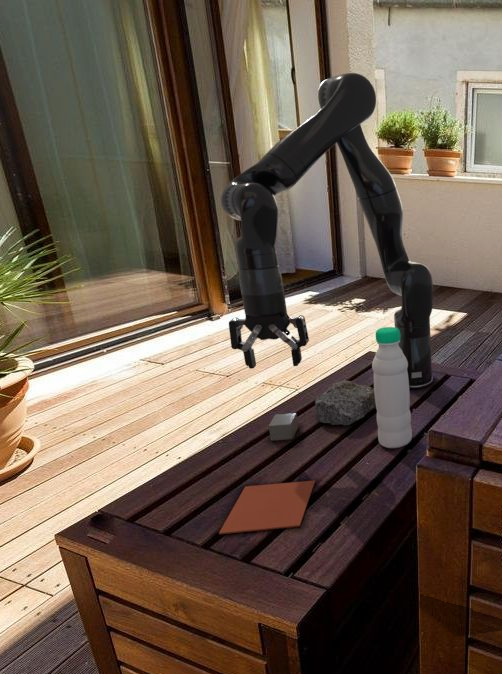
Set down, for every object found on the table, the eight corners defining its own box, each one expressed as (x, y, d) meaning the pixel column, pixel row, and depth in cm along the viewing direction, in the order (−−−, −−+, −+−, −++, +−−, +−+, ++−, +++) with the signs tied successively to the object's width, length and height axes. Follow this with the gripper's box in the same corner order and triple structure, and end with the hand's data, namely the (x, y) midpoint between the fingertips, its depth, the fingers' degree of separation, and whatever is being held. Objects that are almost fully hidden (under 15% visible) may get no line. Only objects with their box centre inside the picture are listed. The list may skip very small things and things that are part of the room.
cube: (277, 428, 105) (275, 414, 104) (298, 427, 106) (296, 413, 104) (270, 440, 100) (268, 425, 99) (292, 439, 101) (290, 424, 100)
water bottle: (401, 452, 96) (393, 336, 88) (371, 446, 98) (361, 332, 90) (418, 435, 103) (412, 326, 94) (389, 430, 105) (381, 322, 97)
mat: (245, 487, 85) (245, 486, 85) (315, 481, 87) (315, 480, 86) (219, 534, 73) (218, 533, 73) (299, 526, 75) (299, 525, 75)
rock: (352, 432, 104) (385, 405, 118) (351, 406, 102) (385, 381, 116) (303, 423, 107) (341, 397, 121) (300, 397, 105) (339, 374, 119)
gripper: (305, 284, 97) (314, 358, 102) (230, 286, 95) (244, 361, 100) (296, 292, 90) (306, 371, 95) (215, 294, 88) (231, 375, 93)
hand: (274, 366), depth 98 cm, fingers open, 8 cm apart
